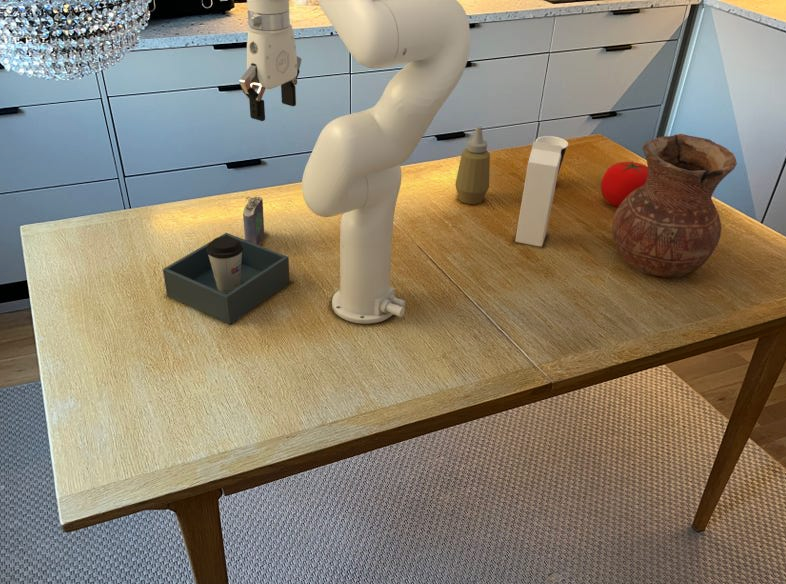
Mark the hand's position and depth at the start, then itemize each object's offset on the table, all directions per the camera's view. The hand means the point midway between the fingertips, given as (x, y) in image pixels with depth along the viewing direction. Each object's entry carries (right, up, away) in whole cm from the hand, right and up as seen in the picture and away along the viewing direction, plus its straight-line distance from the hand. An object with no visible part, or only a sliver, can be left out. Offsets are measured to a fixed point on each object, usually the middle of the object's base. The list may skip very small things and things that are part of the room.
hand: (273, 111), depth 150 cm
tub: (-9, -35, +1) cm, 36 cm away
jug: (+80, -28, +14) cm, 86 cm away
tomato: (+80, -11, +35) cm, 88 cm away
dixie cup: (+63, -5, +42) cm, 76 cm away
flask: (-6, -24, +16) cm, 29 cm away
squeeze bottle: (+43, -10, +35) cm, 57 cm away
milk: (+55, -22, +20) cm, 62 cm away
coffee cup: (-9, -35, +1) cm, 36 cm away
